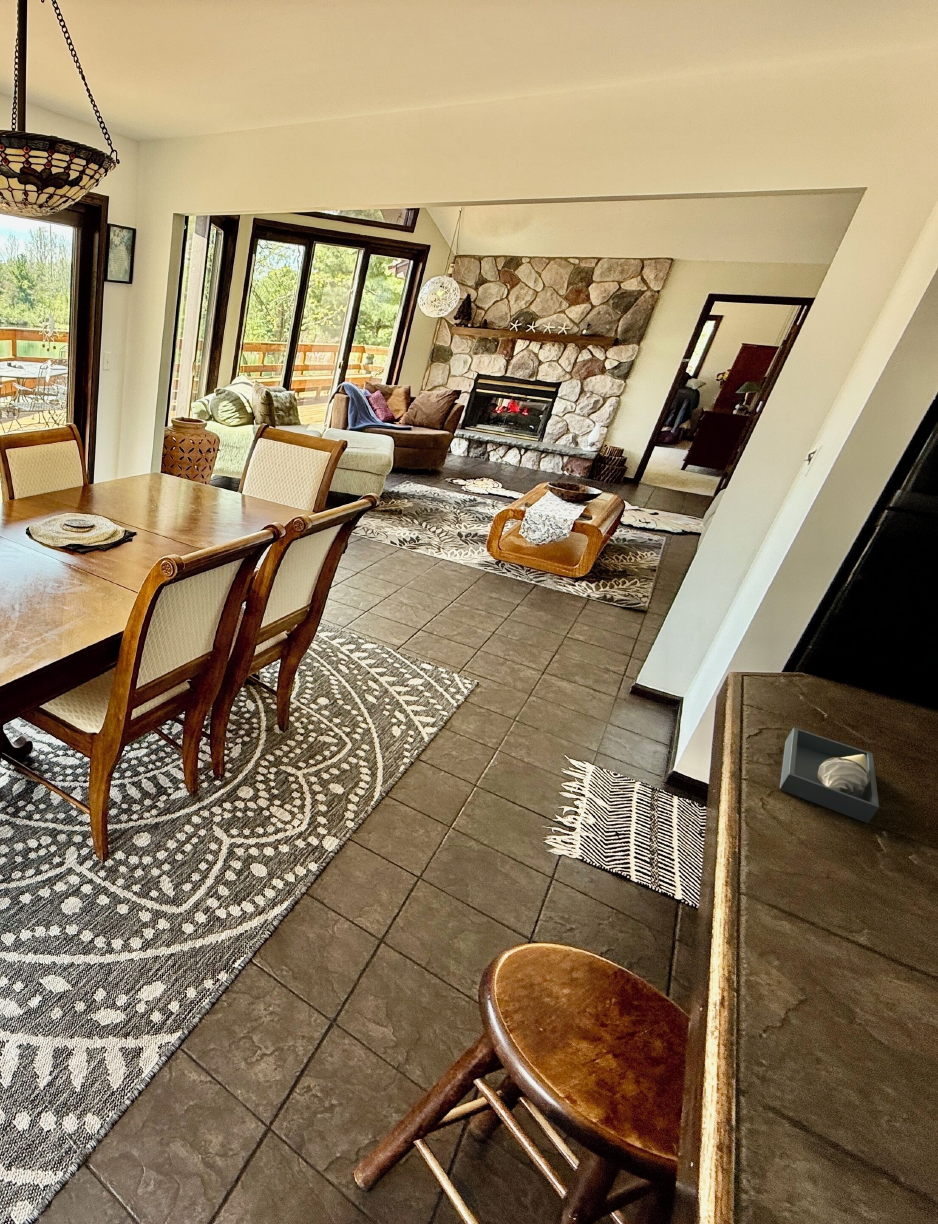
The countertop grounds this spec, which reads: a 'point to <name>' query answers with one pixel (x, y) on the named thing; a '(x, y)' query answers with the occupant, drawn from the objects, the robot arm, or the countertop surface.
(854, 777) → the ice cream cone
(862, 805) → the tray
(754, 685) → the countertop surface
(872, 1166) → the countertop surface
